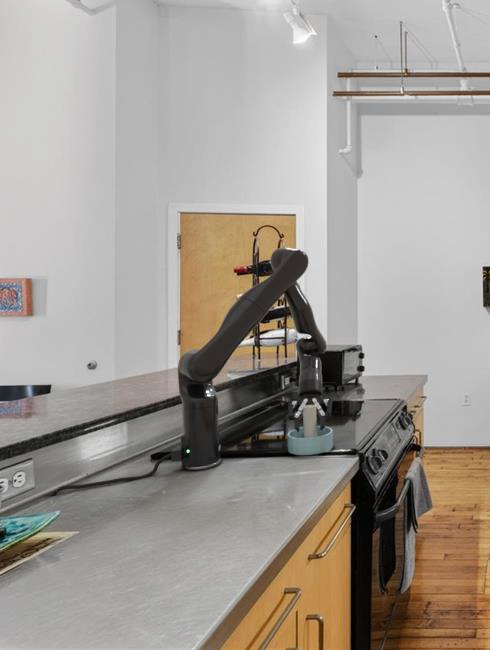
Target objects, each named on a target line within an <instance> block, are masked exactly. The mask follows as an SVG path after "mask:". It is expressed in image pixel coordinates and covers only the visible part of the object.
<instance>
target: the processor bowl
mask: <svg viewBox="0 0 490 650" xmlns="http://www.w3.org/2000/svg"><path fill="white" fill-rule="evenodd" d="M333 431H334V429H333V428H331V427H330V426H329V427H328V426H325V428H323V430H320V425H317V437H314V438H304V427H300V431H299V432H297V430H295V428H294V429H292V430H290V431H289V432H287V435H286V439H287V452H288V453H289V454H292V455H294V456H295V455H296V456H313V455H319V454H323V453H326V452H328V451H330V450H332V449H333V447H334V432H333Z"/></svg>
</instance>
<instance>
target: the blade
mask: <svg viewBox="0 0 490 650" xmlns="http://www.w3.org/2000/svg"><path fill="white" fill-rule="evenodd" d="M317 421H318V420H317V412H316V405H305V406H303V416H302V423H303V425H302V426H303V427H304V438H314V437H317V426H318V423H317Z"/></svg>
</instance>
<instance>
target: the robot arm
mask: <svg viewBox="0 0 490 650" xmlns="http://www.w3.org/2000/svg"><path fill="white" fill-rule="evenodd" d="M270 266H271V268H272V269H271V270H272V271H273V273H272V274H271V275H269V276H268V277H267V278H266V279H264V280H262V281H260V282H259V283H257V284H255V285H254V286H252V287H251V288H249V289H248V290H246V291H244V293H242V294H241V295H240V296H239V298H237V300H236V301H235V302H234V303H233V304H232V305H231V306H230V307H229V309H228V310H227V312H226V314H225V316H224V318H223V320H222V322H221V323H220V326H219V328H218V330H217V332H216V333H215V334H214V335H213V336H212V338H211V339H210V340H209V341H208V342H206V344H204V345H203V347H201V348H194V349H189V350H187V351H185V352H184V353H183V354H182V355H180V358H179V360H178V364H177V378H178V379H177V381H178V382H177V383H178V393H179V398H180V400H181V407H182V411H181V413H182V432H183V433H182V434H181V435H180V444H177V445H176V446H175V447H174V448H172V450H170V453H169V454H166V455H164V456H162V457H161V458H160V459H158V460H157V461H156V463H155V464H154V466H153V469H152V470H151V471H149V472H148V473H145V474H141V475H137V476H124V477H117V478H113V479H107V480H101V481H95V482H90V483H84V484H67V485H62V486H59V487H58V488H59V489H57V488H56V489H57V491H54V490H53V491H52V492H51V493H50V494H49V497H53V496H56V495H57V494H58V493H60V492H62V491H64V490H82V489H86V488H93V487H98V486H105V485H111V484H115V483H120V482H122V483H123V482H128V481H137V480H142V479H145V478H149V477H151V476H153V475H154V474H156V472H157V471H158V468H159V466H160V465H161V464H162V463H163V462H164V461H166V460H168V459H170V460H171V462H172V463H173V462H181V470H183V471H184V470H187V471H201V470H206V469H210V468H213V467H216V466H218V465H220V463H221V452H220V451H221V447H222V446H221V443H220V425H219V424H220V421H219V396H218V394H217V392H216V390H215V387H214V382H213V380H214V379H215V378H216V377H217V376H218V375H219V374H220V373H221V371H222V370H223V368H224V367H225V365H226V364H227V362H228V361H229V359H230V358H231V357H232V355H233V354H234V353H235V351H236V350H237V349H238V347H239V346H240V345H241V344H242V343H243V342H244V341H245V339H246V338H248V336H249V335H250V334H251V332H252V331H253V330H254V329H255V328H256V327H257V326H258V325H259V324H260V322H261V321H262V320H263V319H264V318H265V316H266V315H267V314H268V313H269V311H270V310H271V309H272V307H273V306H274V305H275V304H276V303H277V302H278V301H279V300H280V299H281V297H282V296H283V295H284V297H285V300H286V302H287V305H288V307H289V310H290V314H291V317H292V322H293V324H294V328H295V331H296V333H298V334H301V335H309V336H304V337H300V338H298V339H297V340H296V343H295V350H296V353H297V357H298V359H299V376H298V396H297V399H296V400H293V401H292V399H288V401H287V407H288V408H287V410H288V418H289V420H290V421H294V429H295V430H297V432H299V431H300V428H301V419H302V418H303V406H305V405H316V415H317V416H319V424H320V425H319V426H320V430H323V428H325V427H326V419H327V418H329V419H330V418H331V417H332V410H333V409H332V407H333V398H332V397H328V398H324V397H323V374H322V360H321V358H320V357H318V356H320V355H323V354H324V353H326V351H327V348H328V346H327V345H328V344H327V341H326V338H325V337H324V336H323V334H322V332H321V330H320V329H319V327H318V325H317V322H316V319H315V315H314V311H313V308H312V306H311V303H310V302H309V300H308V298H307V297H306V295H305V294H304V292H303V291H302V289H301V287H300V286H299V283H298V280H299V279H301V278H302V276H303V275H304V274H305V272H306V271H307V270H308V267H309V256H308V255H307V253H306V252H305V251H304V250H302V249H298V248H291V247H278V248H276V249H274V251H273V252H272V253H271V255H270ZM324 404H325V406H326V411H324V410H323V408H322V406H323V405H324ZM296 406H297V407H298V409H297V412H296V413H295V414H294V409H295V408H296Z"/></svg>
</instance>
